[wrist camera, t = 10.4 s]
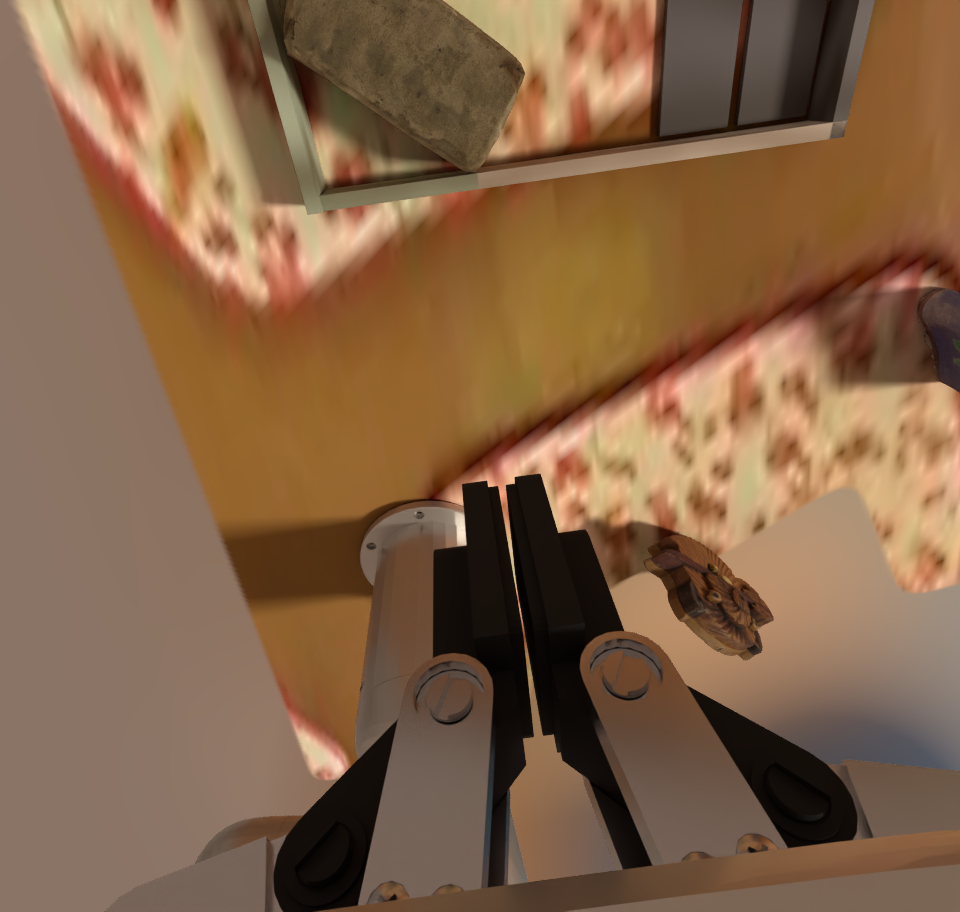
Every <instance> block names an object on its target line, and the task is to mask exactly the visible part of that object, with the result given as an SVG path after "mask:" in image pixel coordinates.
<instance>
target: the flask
mask: <svg viewBox="0 0 960 912" xmlns="http://www.w3.org/2000/svg"><path fill="white" fill-rule="evenodd" d="M940 289H943V290H940ZM936 290H938V291H936ZM933 291H934V292H933ZM933 291H932V292H930V293H929V294H928V295H926V296H925V297H923V298H921V300H920V306H919V311H918V315H919V316H918V317H919V318H918V320H919V322H922V323H923V326H924V329H925V330H924V332H925V334H924V337H925V342H926V345H927V346H928V347H929V346H930V348H931V349H932V350H933V354H932V355H931V356H930V357H932V358H933V359H934V361H935V364H934V367H933V368H934V370H935V375H936V380H938V381H940V382H942V383H944V384H946V385H948V386H950V387H952V388H953V389H955V390H956V391H958V392H960V293H958V292H956V291H953V290H950V289H946V288H937V289H934V290H933Z"/></svg>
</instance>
